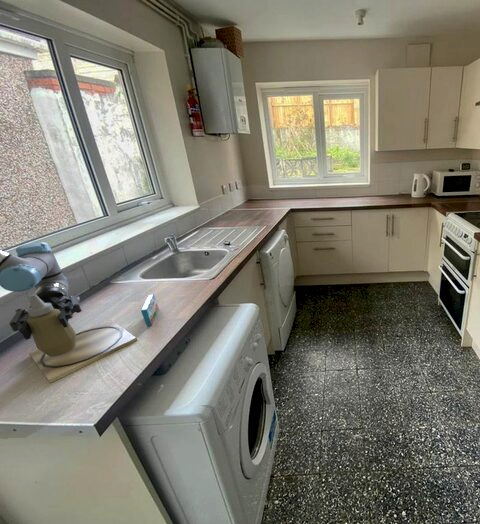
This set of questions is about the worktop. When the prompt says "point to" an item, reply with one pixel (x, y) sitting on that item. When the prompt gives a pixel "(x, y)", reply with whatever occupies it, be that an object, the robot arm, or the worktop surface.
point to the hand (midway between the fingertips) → (45, 328)
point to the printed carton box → (150, 310)
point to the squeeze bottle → (49, 328)
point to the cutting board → (84, 350)
